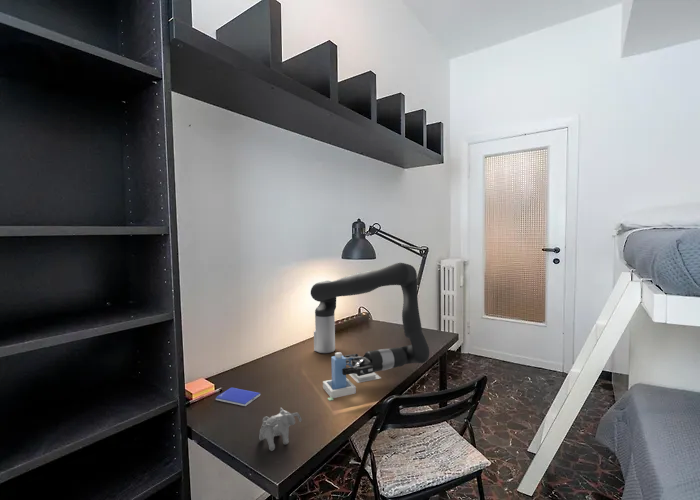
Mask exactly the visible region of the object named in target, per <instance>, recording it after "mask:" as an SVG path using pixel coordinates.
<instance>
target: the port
mask: <svg viewBox="0 0 700 500" xmlns="http://www.w3.org/2000/svg"><path fill="white" fill-rule="evenodd" d="M322 388H323V390H324V391H325V393H327V395H328V396H329V397H327V401H329V402H330V401H334V399H336V398H340V397H345V396H350V395H353V394H357V391H356V389H357V388H356V385H355V384H354V383H352V381H351V380H350V379H348V377H347V376H346V387H345V388H340V389H335V390H333V389H332V379H329V380H322Z"/></svg>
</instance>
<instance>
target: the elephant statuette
mask: <svg viewBox="0 0 700 500" xmlns="http://www.w3.org/2000/svg"><path fill="white" fill-rule="evenodd" d="M295 417H297V419H298V421H299V422H300V423H302V421H303V420H302V419H303V418H302V417H301V415H300V414H299V412H292V413H291V412H289V411H288V410H287V409H286V410H284V408H283V407H282V406H281V407H280V408H279V413H277V414H273V415H271V416H270V417H269V416H264V417H263V418H262V424H261V426H260V429H259V437H258V438H259V440H260V441H264V440H266V441H267V445H268V450H269V451H271V452H272V451H274V450H275V449H276V444H275V442H274V438H275V437H280V436H281V439H282V443H283V445H288V444H289V443H290V438H289V434H290V430H289V429H290V426H294V425H295V424H296V418H295Z"/></svg>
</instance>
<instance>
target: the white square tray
mask: <svg viewBox="0 0 700 500" xmlns="http://www.w3.org/2000/svg"><path fill="white" fill-rule="evenodd" d="M362 372H363V371H362ZM362 372H361V373H362ZM348 375H349V376H350V377H351V378H352V379H353V380H354V381H355V382H356V383H357V384H359V383H364V382H369V381H375V380H379V379H382V377H381V376H379V374H378V373H377V372H373V373H371V374H366V375H361V376H357V374H348Z"/></svg>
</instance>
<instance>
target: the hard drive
mask: <svg viewBox="0 0 700 500" xmlns="http://www.w3.org/2000/svg"><path fill="white" fill-rule="evenodd" d="M260 396H261V392H256V391H251V390H246V389H242V388H241V389H240V388H236V387H230V388H228V389H226V390H225V391H223V392H222V393H220V394H218V395H217V396H216V397H215V401H218V402H219V401H220V402H224V403H228V404H234V405H239V406H241V407H246V406H247V405H249V404H251V403H252V402H253V401H254V400H256V399H258V398H259V397H260Z"/></svg>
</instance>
